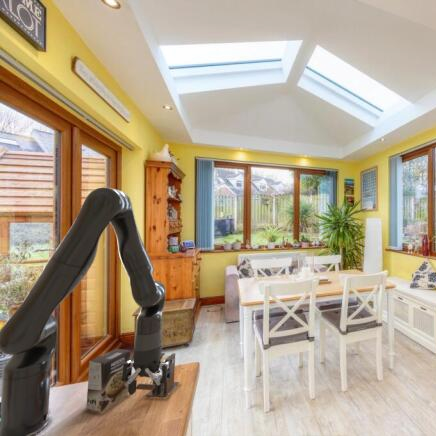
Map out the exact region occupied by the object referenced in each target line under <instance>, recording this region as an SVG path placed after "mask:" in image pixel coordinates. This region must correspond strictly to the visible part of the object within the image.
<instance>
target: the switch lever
mask: <svg viewBox="0 0 436 436" xmlns="http://www.w3.org/2000/svg"><path fill="white" fill-rule="evenodd" d="M169 356H170V355H166V354H165V355H164V356H163V357H162V358H161V360H160V361H161V363H165V360H166V359H167V358H168V357H169ZM160 369H161V368H160ZM155 375H157V372H156V373H155ZM154 387H155V384H153V380H152V379H151V378H150V377H148V379H147V380H146V382H145V383H137V386H136V390H140V391H141V390H142V391H151V390H153V389H154Z"/></svg>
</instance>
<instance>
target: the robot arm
mask: <svg viewBox="0 0 436 436" xmlns="http://www.w3.org/2000/svg"><path fill="white" fill-rule="evenodd" d="M134 212H135V211H134V208H133V204H132V201H131V198H130V196H129V195H128V194H127V193H126V192H124V191H122V190H121V189H120V190H119V189H116V188H112V187H107V186H103V187H97V188H95V189H93V190H92V191H90V192H89V193H88V194H87V196H86V197H85V199H84V201H83V203H82V205H81V207H80V209H79V212H78V213H77V216H76V217H75V220H74V221H73V223H72V225H71V226H70V228H69V230H68V231H67V233H66V234H65V235H64V237H63V238H62V240H61V242H60V243H59V245H58V246H57V248H56V250H54V252H53V253H52V255H51V256H50V258H49V260H48V261H47V263H46V264H45V266H44V267H43V269H42V270H41V272H40V274H39V276H38V277H37V278H36V281H34V283H33V285H32V287H31V289H30V290H29V292H28V293H27V295H26V296H25V298H24V300H23V301H22V303H21V304H20V305H19V306H18V307H17V309H16V310H15V311H14V313H12V315H11V316H10V317H9V319H8V320H7V321H6V322H5V323H4V324H3V326H2V327H1V329H0V353H2V354H4V355H8V356H11V357H10V358H9V360H8V361H7V362H6V364H5V365H4V366H3V369H2V377H1V378H2V379H1V395H0V436H34V435H36V434H37V433H39V432H41V431H42V430H43V429H45V428H46V427H47V426H48V424H49V420H50V419H49V415H50V414H51V409H50V392H51V375H52V374H51V371H52V360H53V358H54V355H55V354H56V349H57V341H58V340H57V339H58V332H59V330H58V329H59V326H58V325H59V324H58V320H57V318H56V316H55V315H54V314H53V313H54V312H55V310H56V309H57V307H58V306H59V305H60V304H61V303H62V302H63V301H64V300H65V299H66V298H67V297H68V296H69V295H70V294H71V293H72V292H73V291H75V289H76V288H77V287H78V285H79V284H81V282H82V281H83V280H84V278H85V276H86V275H87V274H88V272H89V271H90V269H91V267H92V265H93V263H94V262H95V259H96V256H97V254H98V253H97V252H98V247H99V242H100V239H101V236H102V234H103V233H104V231H105V230H106V228H107V227H108V226H109V224H111V226H112V228H113V230H114V233H115V237H116V241H117V248H118V255H119V258H120V261H121V264H122V266H123V268H124V271H125V272H126V276H127V277H128V280H129V287H130V293H131V296H132V299H133V301H134V302H135V304H136V305H137V306H139V307H140V312H139V313H138V315H137V317H136V322H135V335H134V339H133V357H132V358H130V360H129V361H127V362H126V363H124V366H123V375H122V381H123V382H125V381H126V382H127V383H128V395H129V396H133V395H134V394H135V393H136V392H137V389H136V387H137V385H138V380H137V379H138V378H144V377H145V378H151V379H152V380H154V381H155V382H156V384H157V385H156V395H155V396H154V397H156V396H159V395H160V394H161V393H162V392H163V388H164V384H165V383H166V382H167V381H168V380H169V379H170V378H171V374H170V361H167V362H166V363H161V361H160V358H161V353H162V351H163V312H164V308H165V302H166V296H167V289H166V286H165V284H163V282H161V281H159V280H155V278H154V275H153V273H154V271H155V269H154V266H153V263H152V261H151V257H150V256H149V254H148V252H147V249H146V247H145V245H144V242H143V239H142V237H141V234H140V231H139V228H138V224H137V221H136V218H135V213H134ZM160 368H161V369H160ZM133 369H134V372H133ZM156 372H157V375H155V373H156ZM158 377H159V378H158ZM159 379H160V380H159Z"/></svg>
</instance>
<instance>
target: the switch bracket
mask: <svg viewBox="0 0 436 436" xmlns="http://www.w3.org/2000/svg"><path fill="white" fill-rule="evenodd" d="M164 355H165V356H166V353H165V352H161V358H162V357H163V356H164ZM168 356H169V357H168V358H167V359H166V360H165V363H166V362H167V361H170V374H171V378H170V379H169V380H168V381H167V382H166V383H165V384H164V388H163V392H162V393H161V394H160V395H159V396H155V395H156V385H157V384H156V382H155V381H154V380H153V381H152V384H155V387H154V389H153V390H149V392H148V393H147V394H146V395H145V396H146V397H157V398H167V397H168V396H169V394H171V392H172V391H173V390H174V389H175V388H176V387H177V386H178V385H179V384H180V381H175V371H176V370H175V369H176V353H171V354H170V355H168ZM161 358H160V360H161ZM158 378H159V377H158ZM159 380H160V379H159Z"/></svg>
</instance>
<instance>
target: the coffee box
mask: <svg viewBox="0 0 436 436" xmlns="http://www.w3.org/2000/svg"><path fill="white" fill-rule="evenodd" d="M130 359H131V350H130V349H123V348H114V349H112V350H109V351H108V352H106V353H104V354H102V355H99V356H97V357H95V358H93V359H90V360H89V363H88V365H89V366H88V378H87V379H88V380H87V392H86V409H87V410H91V411H95V412H100V413H102V412H103V411H105V410H107V409H108V408H109V407H111V406H112V405H114V404H116V403H117V402H118V401H120V400H121V399H123V398H125V397H126V396H127V395H129V393H128V383H127V382H126V381H125V382H123V381H122V375H123V366H124V363H126V362H127V361H129V360H130Z"/></svg>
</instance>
